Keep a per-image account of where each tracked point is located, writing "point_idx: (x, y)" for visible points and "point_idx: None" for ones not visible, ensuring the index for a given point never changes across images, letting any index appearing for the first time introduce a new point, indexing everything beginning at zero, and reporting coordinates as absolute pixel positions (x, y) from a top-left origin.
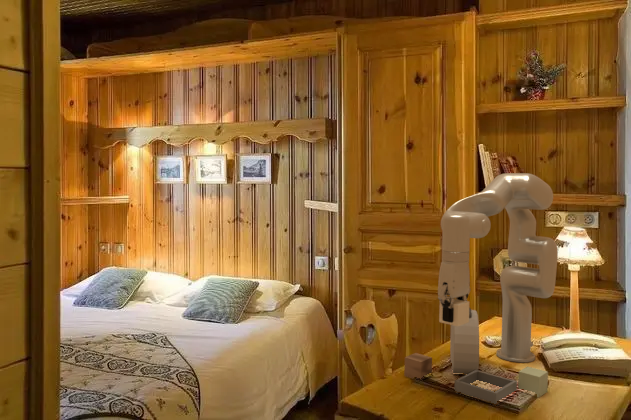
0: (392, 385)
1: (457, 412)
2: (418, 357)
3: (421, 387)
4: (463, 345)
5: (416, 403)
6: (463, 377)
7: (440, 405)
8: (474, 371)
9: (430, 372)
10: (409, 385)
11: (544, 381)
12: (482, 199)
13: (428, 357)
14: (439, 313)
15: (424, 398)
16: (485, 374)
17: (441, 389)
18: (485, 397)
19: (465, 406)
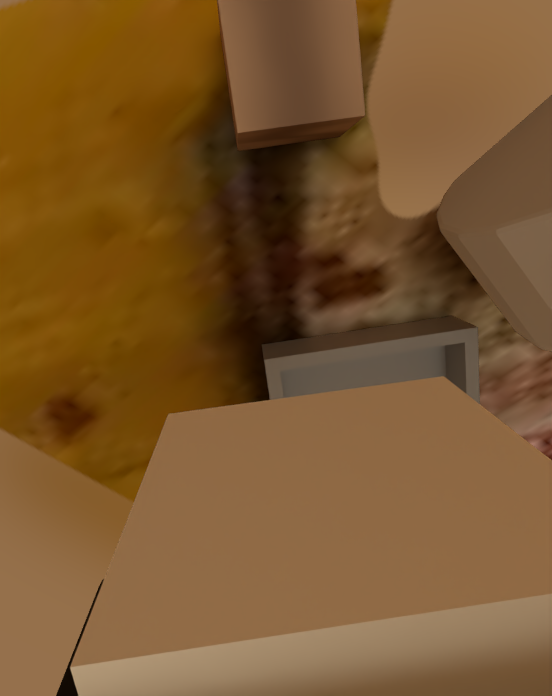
0: (65, 99)
1: (115, 474)
2: (290, 54)
3: (178, 213)
4: (522, 281)
5: (25, 328)
6: (333, 357)
7: (104, 398)
8: (449, 336)
9: (331, 134)
10: (145, 156)
11: None
12: None
13: (345, 100)
14: (144, 475)
15: (96, 311)
16: (463, 381)
17: (241, 287)
18: None
19: None
